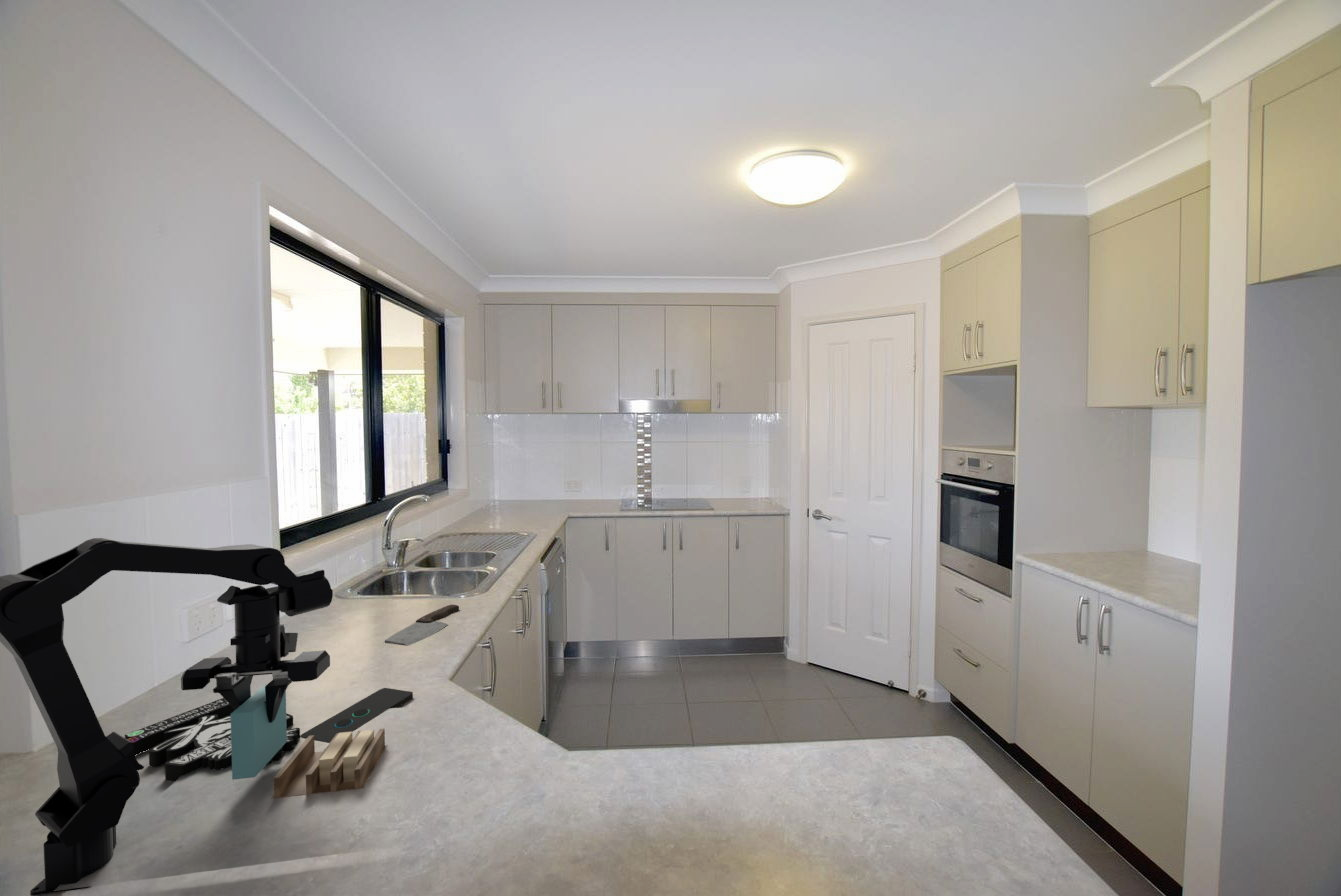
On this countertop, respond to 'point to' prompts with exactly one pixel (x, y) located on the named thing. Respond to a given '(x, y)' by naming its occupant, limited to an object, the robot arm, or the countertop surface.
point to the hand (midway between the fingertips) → (260, 722)
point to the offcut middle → (333, 756)
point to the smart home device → (359, 713)
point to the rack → (305, 776)
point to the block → (256, 735)
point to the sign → (196, 740)
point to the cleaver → (422, 627)
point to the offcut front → (356, 754)
